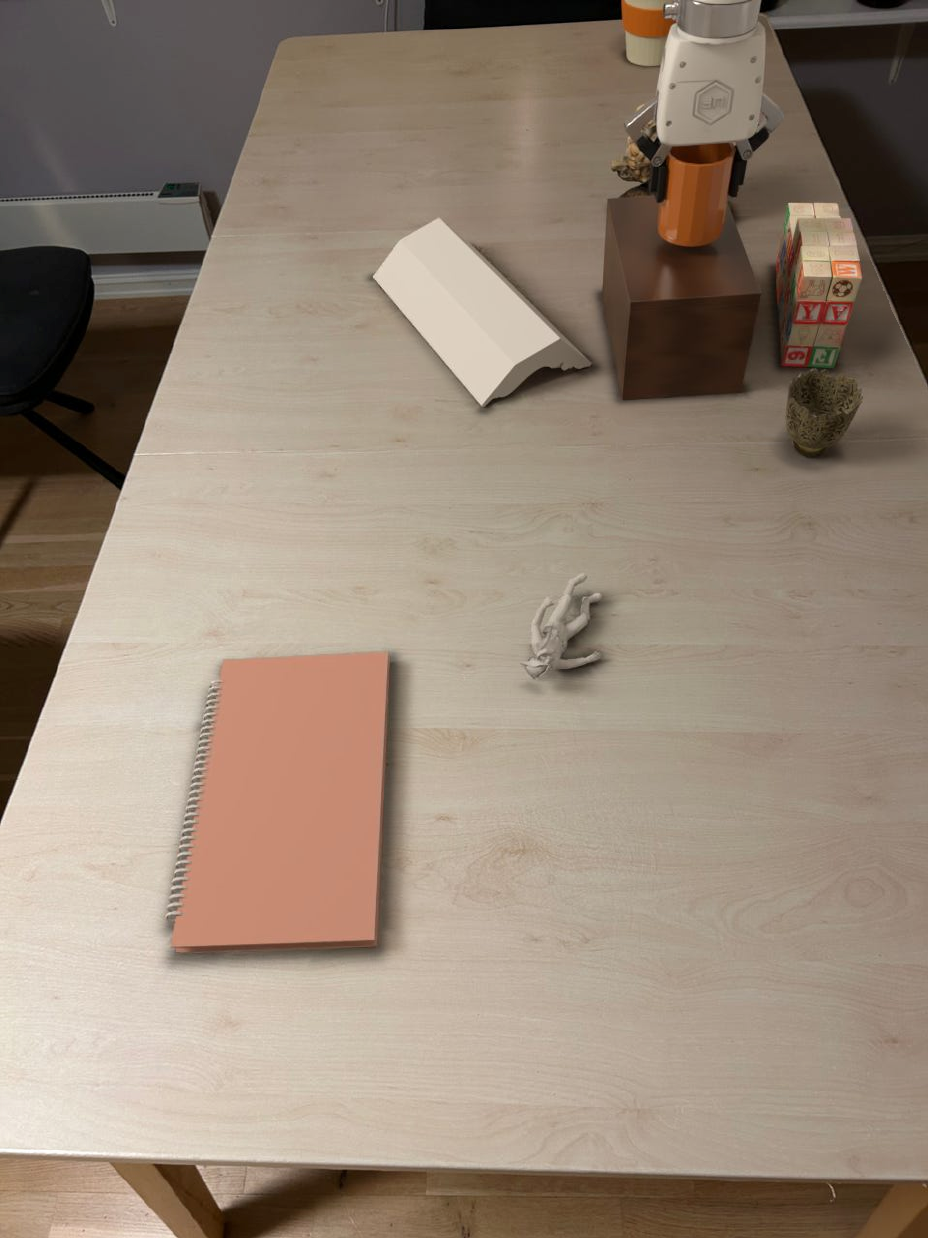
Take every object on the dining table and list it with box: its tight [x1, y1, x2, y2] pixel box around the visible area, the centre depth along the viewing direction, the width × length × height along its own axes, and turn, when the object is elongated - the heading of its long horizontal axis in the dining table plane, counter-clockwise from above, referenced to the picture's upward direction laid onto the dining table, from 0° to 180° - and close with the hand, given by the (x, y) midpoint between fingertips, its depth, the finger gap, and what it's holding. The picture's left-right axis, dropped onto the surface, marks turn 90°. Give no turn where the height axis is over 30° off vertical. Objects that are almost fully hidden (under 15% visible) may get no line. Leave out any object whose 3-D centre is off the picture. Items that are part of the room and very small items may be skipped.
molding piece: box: [372, 217, 593, 408], centre depth 122 cm, size 32×12×10 cm
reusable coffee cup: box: [621, 0, 676, 67], centre depth 163 cm, size 13×13×15 cm
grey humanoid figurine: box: [519, 572, 603, 681], centre depth 88 cm, size 8×5×12 cm
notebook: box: [164, 650, 391, 954], centre depth 80 cm, size 27×17×2 cm, turn 1°
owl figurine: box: [610, 102, 740, 217], centre depth 129 cm, size 18×12×17 cm, turn 77°
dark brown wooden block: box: [601, 195, 763, 401], centre depth 112 cm, size 14×22×13 cm, turn 1°
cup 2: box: [785, 367, 864, 458], centre depth 100 cm, size 8×7×8 cm
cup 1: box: [657, 142, 736, 246], centre depth 102 cm, size 7×7×9 cm
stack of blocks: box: [775, 202, 863, 369], centre depth 114 cm, size 21×6×12 cm, turn 171°
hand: (694, 192), depth 102 cm, fingers closed on cup 1, 7 cm apart
